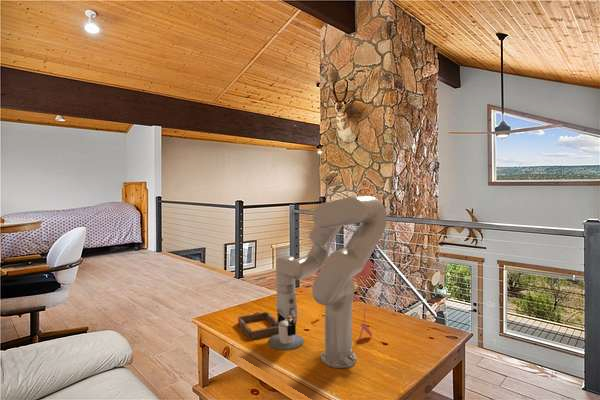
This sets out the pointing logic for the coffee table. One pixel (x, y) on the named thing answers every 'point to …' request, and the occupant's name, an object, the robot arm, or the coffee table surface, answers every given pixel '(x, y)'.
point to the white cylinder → (284, 333)
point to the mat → (276, 344)
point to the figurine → (365, 274)
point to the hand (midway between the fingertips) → (286, 330)
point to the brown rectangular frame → (262, 332)
